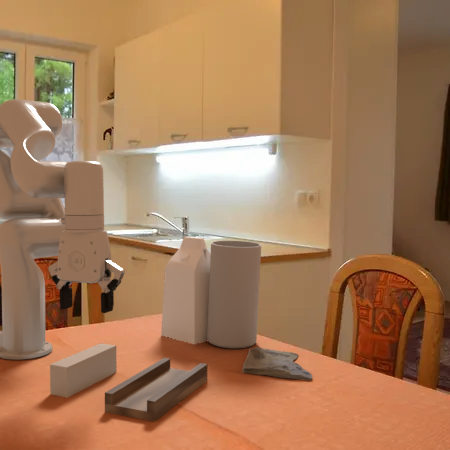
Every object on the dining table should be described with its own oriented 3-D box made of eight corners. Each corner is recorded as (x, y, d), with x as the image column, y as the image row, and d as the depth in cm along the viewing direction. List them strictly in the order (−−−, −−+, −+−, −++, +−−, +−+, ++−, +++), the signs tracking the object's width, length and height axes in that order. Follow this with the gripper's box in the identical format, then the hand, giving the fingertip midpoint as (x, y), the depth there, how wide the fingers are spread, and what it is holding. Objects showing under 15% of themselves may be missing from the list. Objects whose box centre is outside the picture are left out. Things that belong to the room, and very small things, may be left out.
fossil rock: (247, 354, 140) (248, 344, 140) (310, 358, 138) (311, 348, 138) (239, 379, 123) (240, 368, 122) (312, 383, 121) (312, 372, 120)
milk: (224, 335, 154) (225, 237, 152) (194, 344, 146) (195, 241, 144) (191, 327, 162) (192, 234, 160) (161, 335, 153) (161, 237, 151)
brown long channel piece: (104, 411, 103) (104, 392, 103) (163, 374, 123) (164, 357, 123) (154, 421, 99) (154, 401, 99) (207, 380, 120) (207, 364, 119)
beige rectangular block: (50, 395, 111) (50, 364, 111) (100, 370, 126) (100, 343, 125) (67, 398, 110) (66, 367, 109) (116, 373, 124) (116, 345, 124)
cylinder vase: (197, 338, 150) (201, 241, 147) (238, 332, 156) (243, 239, 154) (223, 352, 139) (228, 248, 137) (266, 345, 146) (271, 246, 143)
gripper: (36, 224, 115) (38, 310, 116) (111, 226, 108) (113, 317, 109) (60, 222, 122) (62, 303, 123) (132, 223, 115) (134, 309, 116)
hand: (86, 309), depth 116 cm, fingers open, 9 cm apart
